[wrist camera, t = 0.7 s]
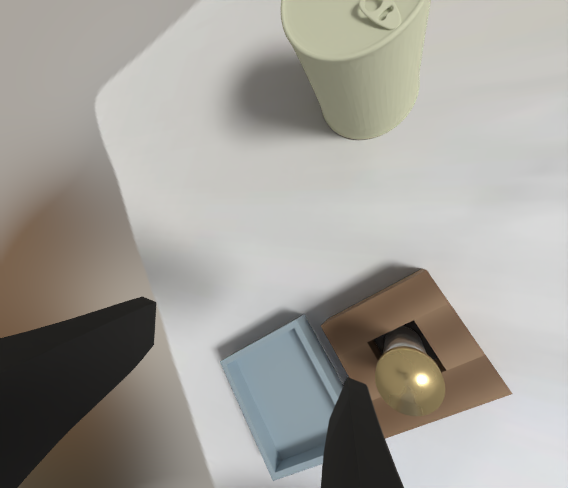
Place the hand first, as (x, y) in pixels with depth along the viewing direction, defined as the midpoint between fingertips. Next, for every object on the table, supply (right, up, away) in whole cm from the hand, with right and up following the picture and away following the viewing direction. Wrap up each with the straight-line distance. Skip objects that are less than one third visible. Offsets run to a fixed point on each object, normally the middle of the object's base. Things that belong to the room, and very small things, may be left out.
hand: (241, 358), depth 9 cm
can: (+10, +19, +17) cm, 27 cm away
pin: (+12, -5, +15) cm, 20 cm away
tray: (+2, -11, +18) cm, 22 cm away
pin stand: (+12, -5, +15) cm, 20 cm away
